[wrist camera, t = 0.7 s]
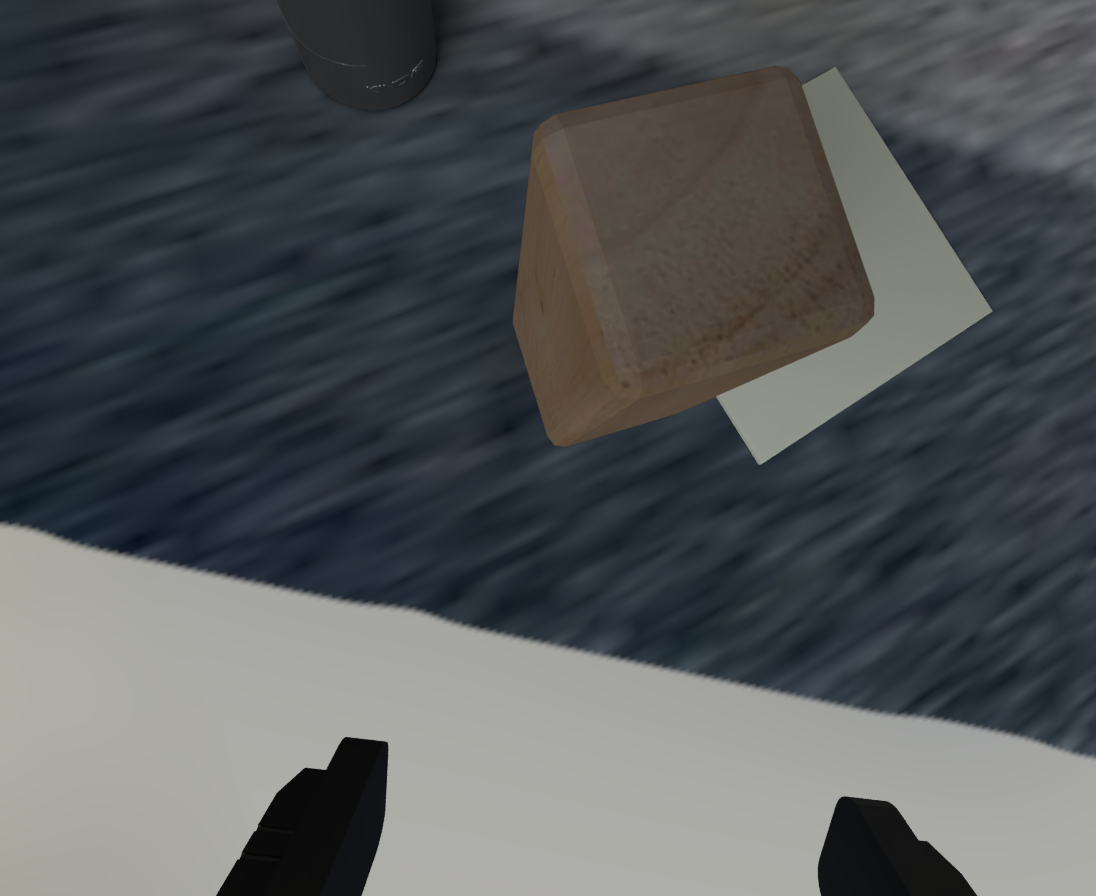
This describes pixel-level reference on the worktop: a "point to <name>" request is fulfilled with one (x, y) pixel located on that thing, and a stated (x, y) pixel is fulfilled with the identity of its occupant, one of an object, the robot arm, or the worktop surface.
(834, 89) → the mat
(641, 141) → the wooden block
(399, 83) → the robot arm
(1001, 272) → the worktop surface
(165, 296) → the worktop surface
